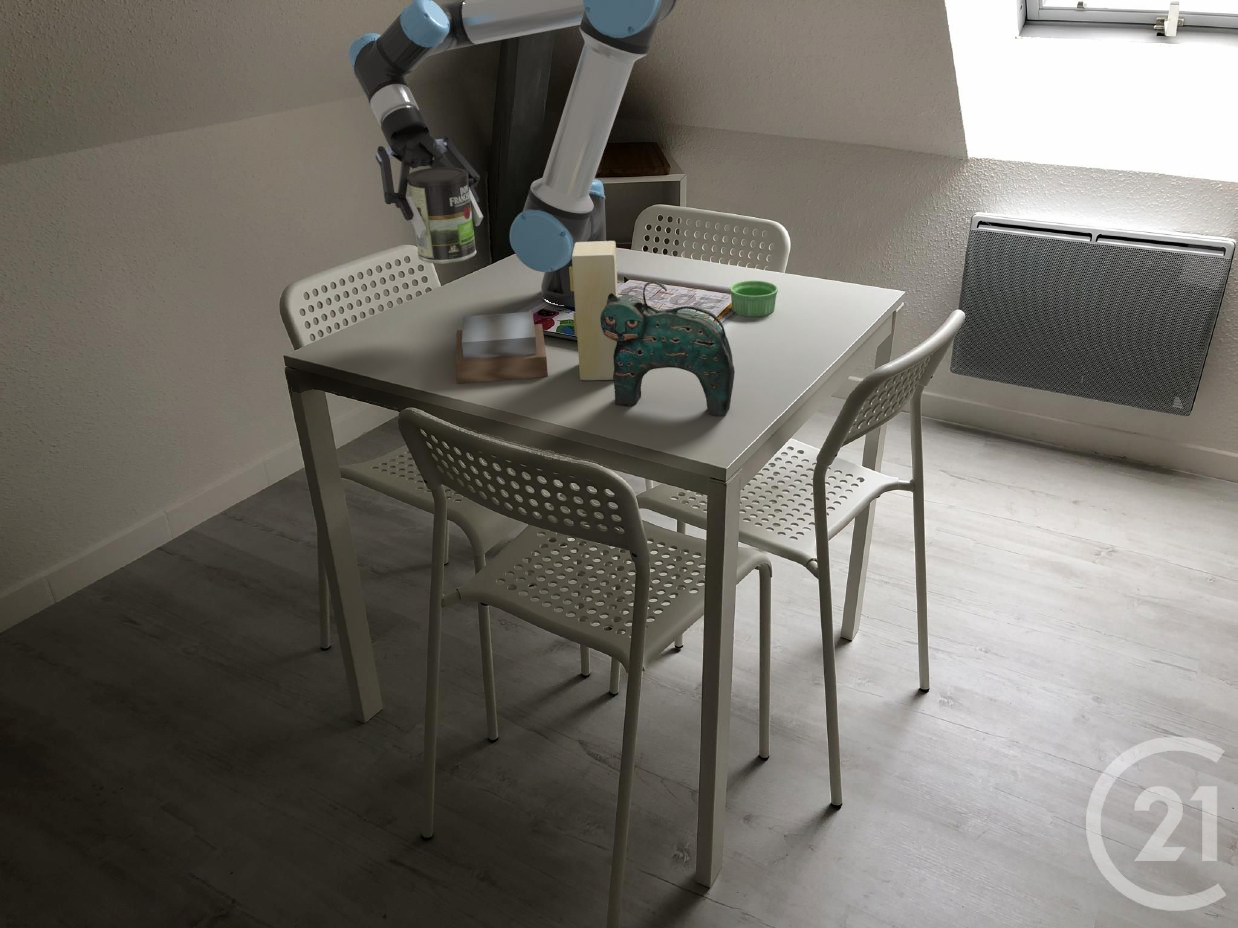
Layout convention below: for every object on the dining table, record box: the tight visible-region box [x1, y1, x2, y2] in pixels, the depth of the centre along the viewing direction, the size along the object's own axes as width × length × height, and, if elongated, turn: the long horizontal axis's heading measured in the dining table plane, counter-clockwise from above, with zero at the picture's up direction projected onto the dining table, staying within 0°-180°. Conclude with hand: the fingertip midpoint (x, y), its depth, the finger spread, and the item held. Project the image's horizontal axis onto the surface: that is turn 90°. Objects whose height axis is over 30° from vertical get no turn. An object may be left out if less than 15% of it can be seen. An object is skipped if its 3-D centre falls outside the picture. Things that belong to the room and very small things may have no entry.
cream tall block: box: [569, 240, 619, 381], centre depth 157 cm, size 8×7×21 cm
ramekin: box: [729, 280, 779, 318], centre depth 184 cm, size 9×9×4 cm
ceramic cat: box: [600, 280, 736, 417], centre depth 145 cm, size 20×6×20 cm, turn 71°
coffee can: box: [407, 167, 477, 265], centre depth 168 cm, size 10×10×14 cm
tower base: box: [454, 311, 549, 384], centre depth 165 cm, size 15×15×6 cm
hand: (451, 227), depth 166 cm, fingers closed on coffee can, 10 cm apart
